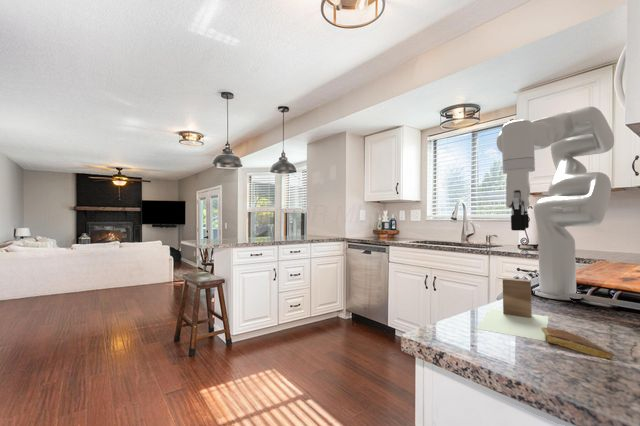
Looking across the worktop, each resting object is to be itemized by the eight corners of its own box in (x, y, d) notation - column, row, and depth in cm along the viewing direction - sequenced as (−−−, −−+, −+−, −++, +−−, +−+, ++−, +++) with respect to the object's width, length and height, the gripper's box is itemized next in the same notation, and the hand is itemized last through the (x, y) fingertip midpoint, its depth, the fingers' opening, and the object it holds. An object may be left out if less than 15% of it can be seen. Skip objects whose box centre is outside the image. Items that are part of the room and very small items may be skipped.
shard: (613, 363, 57) (614, 353, 57) (566, 356, 58) (567, 346, 58) (574, 339, 68) (575, 331, 68) (535, 334, 69) (535, 326, 69)
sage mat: (490, 310, 89) (490, 308, 89) (548, 318, 81) (548, 316, 81) (476, 331, 74) (476, 328, 74) (545, 343, 66) (545, 340, 66)
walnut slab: (504, 311, 86) (503, 277, 86) (531, 315, 82) (530, 280, 82) (503, 314, 84) (502, 279, 84) (530, 318, 80) (529, 281, 80)
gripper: (506, 170, 98) (508, 227, 98) (498, 165, 84) (500, 231, 84) (536, 168, 94) (538, 227, 94) (532, 162, 80) (534, 231, 80)
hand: (520, 229), depth 89 cm, fingers open, 9 cm apart
